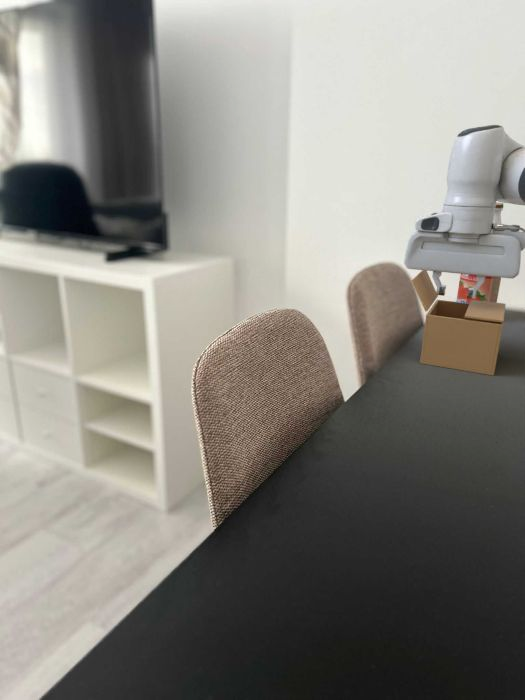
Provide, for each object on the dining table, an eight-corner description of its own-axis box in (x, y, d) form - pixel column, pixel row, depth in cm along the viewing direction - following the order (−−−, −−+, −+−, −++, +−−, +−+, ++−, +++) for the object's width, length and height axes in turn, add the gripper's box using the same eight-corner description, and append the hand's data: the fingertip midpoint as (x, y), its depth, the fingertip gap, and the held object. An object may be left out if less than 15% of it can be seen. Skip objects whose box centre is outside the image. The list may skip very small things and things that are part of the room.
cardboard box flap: (413, 279, 93) (411, 280, 94) (427, 311, 94) (425, 311, 94) (425, 268, 105) (423, 268, 105) (438, 296, 106) (436, 296, 106)
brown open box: (493, 375, 92) (503, 320, 89) (419, 363, 97) (426, 310, 94) (497, 353, 104) (506, 303, 101) (430, 343, 109) (437, 295, 106)
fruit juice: (501, 321, 127) (523, 204, 118) (467, 322, 125) (486, 203, 116) (479, 311, 136) (498, 201, 126) (447, 312, 134) (463, 201, 125)
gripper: (529, 224, 92) (515, 299, 96) (413, 217, 100) (405, 287, 104) (530, 227, 86) (515, 306, 91) (407, 220, 94) (399, 293, 99)
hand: (455, 296), depth 98 cm, fingers open, 4 cm apart
